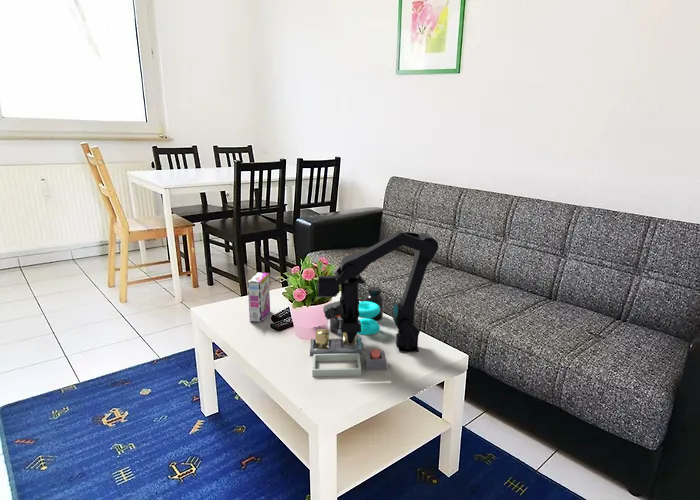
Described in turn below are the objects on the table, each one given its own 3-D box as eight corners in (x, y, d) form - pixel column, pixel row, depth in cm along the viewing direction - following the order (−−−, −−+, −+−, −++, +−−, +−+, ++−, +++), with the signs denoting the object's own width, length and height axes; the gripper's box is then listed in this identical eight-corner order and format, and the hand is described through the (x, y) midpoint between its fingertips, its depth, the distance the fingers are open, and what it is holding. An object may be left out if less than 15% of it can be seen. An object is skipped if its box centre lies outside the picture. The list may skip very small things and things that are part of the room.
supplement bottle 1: (344, 337, 158) (344, 307, 154) (328, 335, 159) (327, 306, 156) (348, 329, 163) (348, 301, 160) (332, 328, 164) (332, 299, 161)
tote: (359, 361, 142) (359, 353, 141) (361, 378, 133) (361, 369, 132) (313, 362, 141) (313, 354, 140) (312, 379, 132) (312, 370, 131)
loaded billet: (329, 344, 150) (328, 328, 148) (329, 351, 146) (328, 334, 144) (316, 345, 150) (315, 328, 148) (315, 351, 146) (315, 335, 144)
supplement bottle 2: (377, 323, 168) (378, 293, 165) (361, 319, 172) (362, 289, 169) (386, 316, 174) (386, 287, 171) (370, 312, 178) (371, 284, 174)
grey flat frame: (360, 342, 154) (360, 336, 153) (362, 357, 144) (362, 350, 143) (311, 343, 153) (310, 337, 152) (309, 358, 143) (309, 351, 143)
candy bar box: (262, 323, 168) (259, 282, 164) (249, 322, 169) (246, 281, 164) (271, 311, 179) (269, 272, 174) (259, 310, 180) (256, 271, 175)
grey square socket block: (383, 362, 141) (384, 350, 140) (386, 372, 136) (386, 360, 134) (365, 362, 141) (365, 351, 140) (366, 373, 135) (366, 361, 134)
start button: (379, 357, 139) (379, 348, 138) (380, 361, 136) (380, 353, 135) (370, 357, 139) (370, 348, 138) (371, 362, 136) (371, 353, 135)
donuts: (383, 302, 162) (375, 313, 153) (383, 327, 165) (374, 339, 156) (357, 298, 166) (348, 308, 157) (357, 323, 168) (348, 334, 160)
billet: (343, 339, 150) (342, 323, 148) (356, 339, 150) (356, 322, 148) (343, 345, 146) (343, 329, 144) (356, 345, 146) (356, 328, 144)
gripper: (325, 285, 152) (325, 327, 156) (324, 307, 134) (325, 354, 138) (357, 285, 152) (357, 326, 157) (361, 307, 134) (361, 353, 139)
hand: (350, 339), depth 148 cm, fingers closed on billet, 4 cm apart
